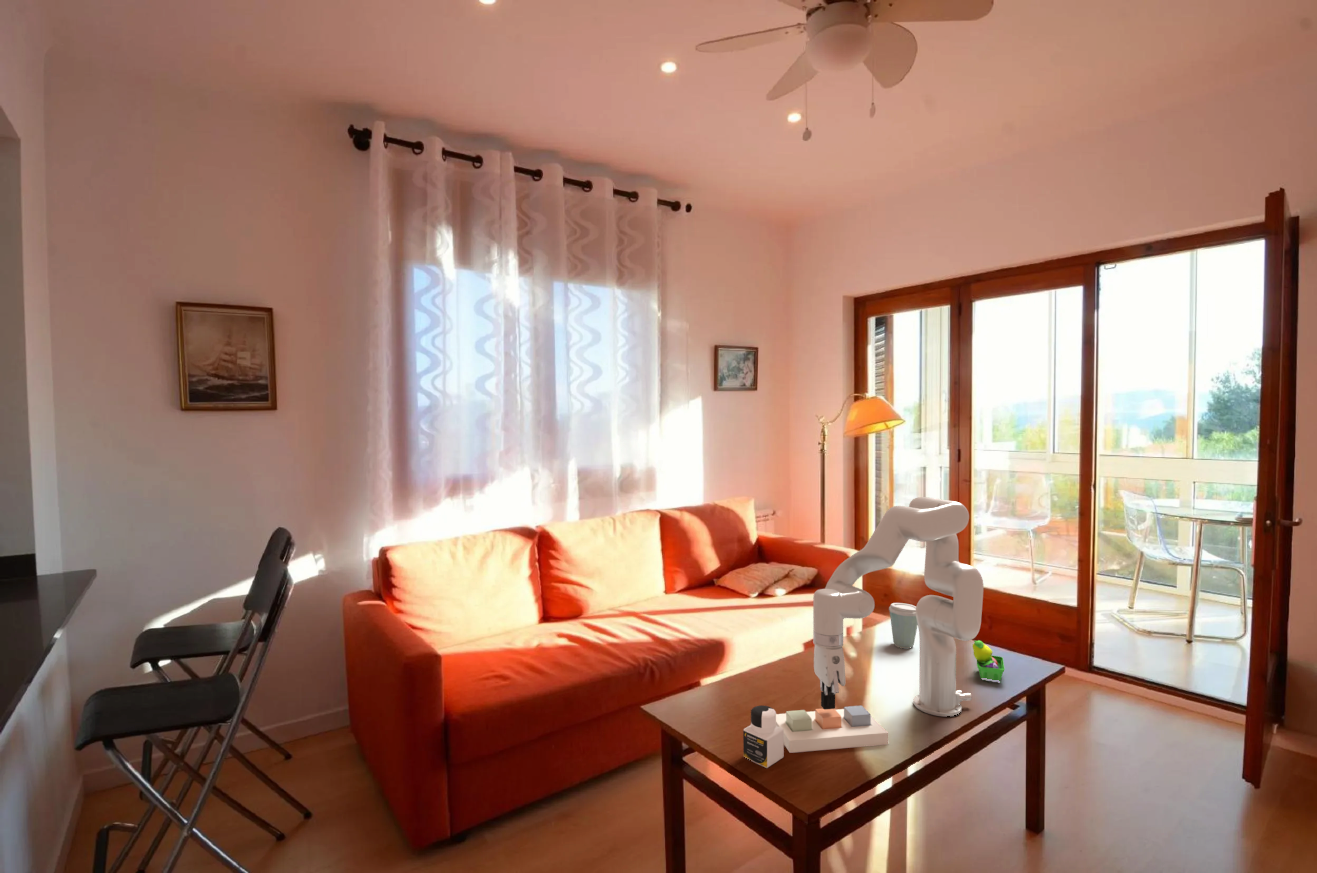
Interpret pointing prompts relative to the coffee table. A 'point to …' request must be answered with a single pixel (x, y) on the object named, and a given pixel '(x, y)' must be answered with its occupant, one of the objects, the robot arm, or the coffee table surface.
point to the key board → (831, 735)
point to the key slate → (857, 716)
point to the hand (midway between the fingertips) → (828, 707)
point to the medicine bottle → (763, 737)
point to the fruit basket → (988, 662)
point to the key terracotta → (827, 718)
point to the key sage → (798, 720)
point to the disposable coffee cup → (903, 624)
